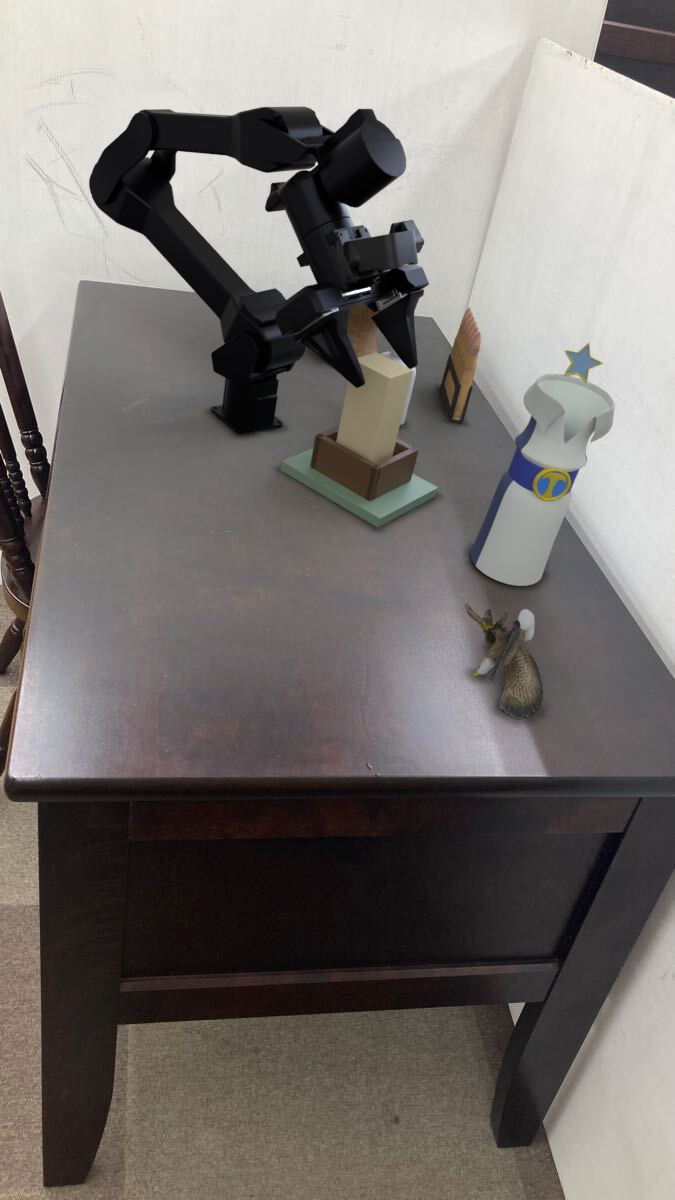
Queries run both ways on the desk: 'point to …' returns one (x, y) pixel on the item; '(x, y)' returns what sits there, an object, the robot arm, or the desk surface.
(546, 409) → the white superhero chess piece
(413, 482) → the seat base
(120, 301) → the desk surface
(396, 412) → the tan rectangular block
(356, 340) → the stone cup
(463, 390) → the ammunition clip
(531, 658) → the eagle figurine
